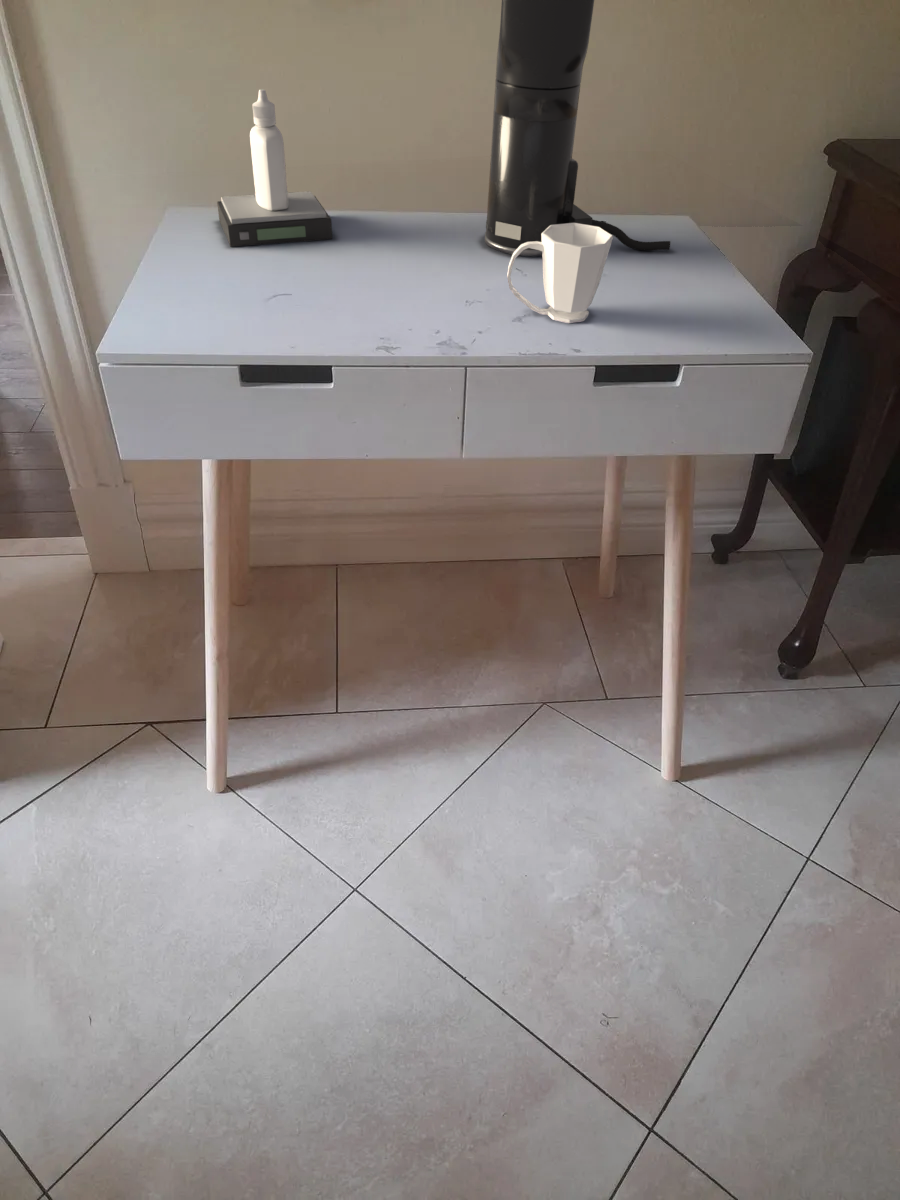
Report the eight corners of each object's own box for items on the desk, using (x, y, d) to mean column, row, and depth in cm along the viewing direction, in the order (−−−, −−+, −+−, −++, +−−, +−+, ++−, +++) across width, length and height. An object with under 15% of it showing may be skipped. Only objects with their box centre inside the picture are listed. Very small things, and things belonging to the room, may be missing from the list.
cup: (605, 330, 89) (618, 248, 84) (505, 326, 89) (512, 244, 83) (597, 302, 94) (608, 223, 89) (503, 298, 94) (509, 219, 89)
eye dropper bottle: (294, 198, 107) (286, 85, 99) (286, 212, 103) (277, 96, 95) (258, 196, 107) (247, 83, 99) (249, 211, 103) (236, 94, 95)
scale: (315, 215, 112) (314, 190, 110) (332, 240, 105) (331, 213, 103) (219, 221, 109) (216, 195, 107) (230, 247, 102) (227, 221, 100)
